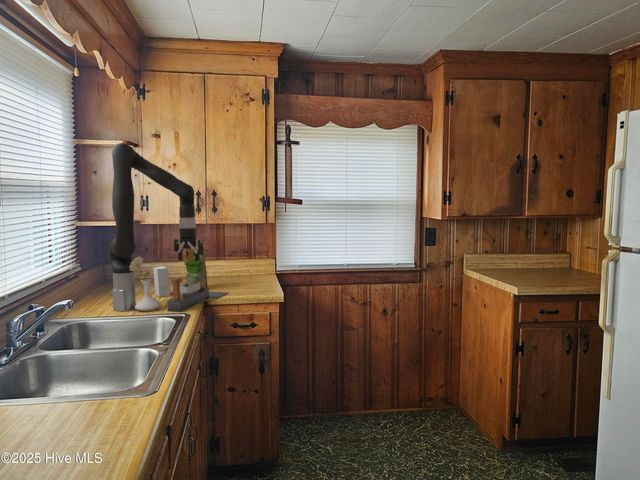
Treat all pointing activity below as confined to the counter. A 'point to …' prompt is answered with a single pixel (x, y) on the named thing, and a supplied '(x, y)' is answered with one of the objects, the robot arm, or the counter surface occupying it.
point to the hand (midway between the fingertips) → (189, 261)
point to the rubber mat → (217, 294)
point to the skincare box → (161, 281)
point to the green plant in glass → (195, 267)
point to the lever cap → (189, 287)
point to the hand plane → (186, 297)
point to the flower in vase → (147, 300)
